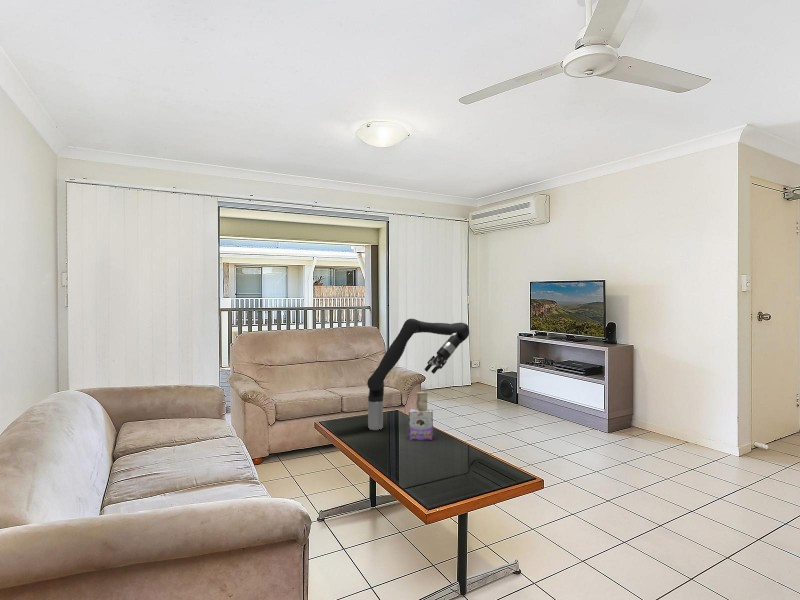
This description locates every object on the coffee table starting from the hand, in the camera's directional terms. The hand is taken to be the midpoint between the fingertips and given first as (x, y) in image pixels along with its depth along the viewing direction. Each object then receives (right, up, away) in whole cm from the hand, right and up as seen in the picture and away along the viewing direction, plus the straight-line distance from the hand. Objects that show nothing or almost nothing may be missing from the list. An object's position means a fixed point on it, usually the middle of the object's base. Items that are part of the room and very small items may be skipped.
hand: (428, 371), depth 258 cm
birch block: (-4, -22, 0) cm, 23 cm away
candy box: (-5, -39, 0) cm, 39 cm away
